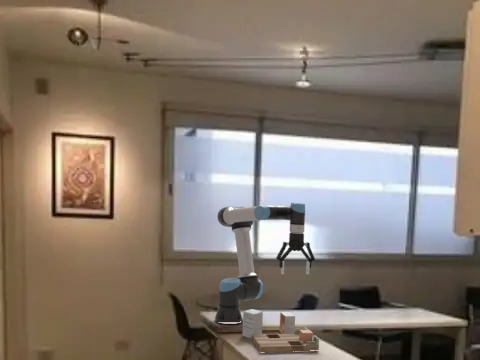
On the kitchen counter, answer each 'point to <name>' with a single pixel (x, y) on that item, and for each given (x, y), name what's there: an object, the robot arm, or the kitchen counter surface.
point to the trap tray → (284, 342)
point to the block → (306, 335)
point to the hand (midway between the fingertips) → (294, 274)
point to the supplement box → (252, 322)
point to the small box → (287, 323)
